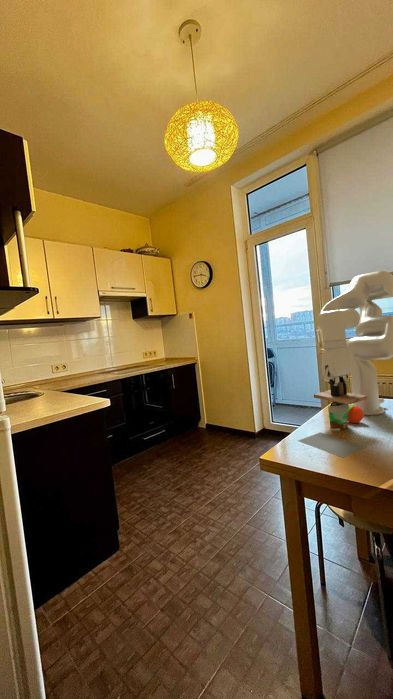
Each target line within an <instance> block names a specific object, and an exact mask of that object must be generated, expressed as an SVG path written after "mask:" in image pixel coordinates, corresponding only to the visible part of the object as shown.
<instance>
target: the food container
mask: <svg viewBox="0 0 393 699" xmlns="http://www.w3.org/2000/svg"><path fill="white" fill-rule="evenodd" d="M349 405H350V404H345V403H340V402H334V401H331V403H330V405H329V406H328V407H327V408H328V412H327V413H328V418H329V419H328V420H329V425H330V426H329V428H330V431H331V432H340V431H344V430H347V429H348V425H349V424H348V423H349V422H348V409H349Z"/></svg>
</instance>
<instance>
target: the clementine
mask: <svg viewBox="0 0 393 699" xmlns="http://www.w3.org/2000/svg"><path fill="white" fill-rule="evenodd" d="M348 405H349V409H348V423H351V424H358V423H360V422H361V421H362V420H363V419H364V415H363V411H362V409H361V408H360V407H358V406H356V405H353V404H348Z"/></svg>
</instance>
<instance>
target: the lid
mask: <svg viewBox="0 0 393 699" xmlns="http://www.w3.org/2000/svg"><path fill="white" fill-rule="evenodd" d="M337 383H338V384H337V386H339V393H340V396H339V397H336V396H331V389H328V390H325V391H322V392H318V393H314V394H313V398H314V399H320V400H325V401H329V402H332V401H334V402H340V403H345V404H348V405H353V403H356V402H359V401H362V400H365V399H367V396H366V395H359V394H353V393H352V392H347V394H346V395H345V394H344V390H343V382H338V381H337Z"/></svg>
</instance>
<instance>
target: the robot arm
mask: <svg viewBox="0 0 393 699" xmlns="http://www.w3.org/2000/svg"><path fill="white" fill-rule="evenodd" d="M389 298H393V274H392V273H390V272H388V271H385V270H376V271H372V272H368V273H362V274H359V275H357V276H354V277H353V278H352V279H351V281H350V283H349V284H348V286H347V287H346V289H345V291H344V292H343V293H342V294H340V295H339V296H337V297H334V298H333V299H332V300H330V301H328V302H327V303H326V304H325V305H324V306H323V307H322V309H321V310H320V312H319V314H318V317H317V324H318V327H319V328H320V330H321V332H322V345H323V346H322V347H323V349H322V353H321V375H322V377H323V381H325V382H327V383H328V385H329V386H330V389H329V390H331V396H336V397H339V396H340V393H339V386H337V384H338V383H337V382H343V390H344V394H345V395H346V394H347V393H348V391H347V388H348V387H347V383H348V378H349V377H350V378H351V379H350V380H351V381H350V383H351V393H353V394H359V395H366V396H367V399H365V400H362V401H359V402H356V403H353V404H352V405H356V406H358V407H360V408H361V409H362V411H363V416H378V415H381V414H384V412H385V409H384V407H382V406H381V404H383V403H384V402H385V399H384V398H382V397H381V398H379V396H380V395H379V385H378V384H379V383H378V370H377V368H376V366H375V364H374V363H373V362H372V361H371V360H390V359H393V315H392V314H385V315H383V309H382V308H381V307H380V306H379V305H378V304H377V303H375V302H374V300H382V299H389ZM357 309H359V311H357ZM350 329H355V334H356V337H352V338H349V339H348V341H347V337H346V335H347V334H346V330H350Z"/></svg>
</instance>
